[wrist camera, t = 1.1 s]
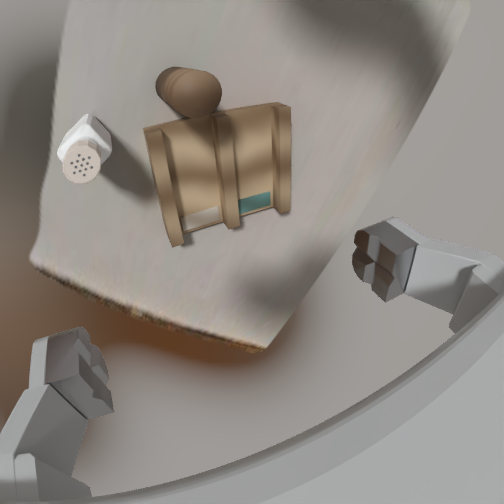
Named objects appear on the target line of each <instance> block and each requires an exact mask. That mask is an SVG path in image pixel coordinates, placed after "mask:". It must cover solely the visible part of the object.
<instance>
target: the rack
mask: <svg viewBox="0 0 504 504" xmlns="http://www.w3.org/2000/svg"><path fill="white" fill-rule="evenodd" d="M143 130H144V135H145V140H146V145H147V150H148V155H149V160H150V164H151V169H152V173H153V178H154V182H155V187H156V191H157V195H158V200H159V204H160V208H161V212H162V216H163V220H164V224H165V228H166V232H167V235H168V238H169V240H170V243H171V245H172V247H176V246H179V245H182V244H184V240H183V236H182V234H185V233H188V232H191V231H194V230H197V229H201V228H204V227H207V226H210V225H213V224H217V223H220V222H224V224H225V225H226V226H227V228H228V229H232V228H235V227H238V226H240V221H239V217H240V216H243V215H246V214H250V213H253V212H257V211H260V210H263V209H267V208H270V207H274V208H275V209H276V210H277V211H278V212H279V213H280V214H281V213H284V212H288V211H290V204H291V107H289V106H286V105H284V104H281V103H278V102H276V103H268V104H261V105H254V106H247V107H241V108H235V109H229V110H223V111H218V112H212V113H210V114H209V115H207V116H205V117H202V118H183V119H179V120H175V121H170V122H166V123H162V124H158V125H154V126H151V127H147V128H143Z"/></svg>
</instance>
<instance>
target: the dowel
mask: <svg viewBox="0 0 504 504" xmlns="http://www.w3.org/2000/svg"><path fill="white" fill-rule="evenodd" d="M156 92H157V94H158V96H159V97H160V98H161V99H162V100H164V101H165V102H166V103H168V104H169V105H170V106H172V107H173V108H174V109H176V110H177V111H178V112H179V113H181V114H182V115H184V116H186V117H188V118H202V117H205V116H207V115H209V114H210V113H212V112H213V111H214V110H215V109H216V108H217V106H218V105H219V103H220V100H221V96H222V89H221V85H220V83H219V81H218V79H217V78H216V77H215V76H214V75H212V74H211V73H208V72H206V71H200V70H194V69H188V68H182V67H171V68H168V69H166V70H164V71H163V72H162V73H161V74H160V75H159V77H158V78H157V81H156Z"/></svg>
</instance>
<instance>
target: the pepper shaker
mask: <svg viewBox="0 0 504 504" xmlns="http://www.w3.org/2000/svg"><path fill="white" fill-rule="evenodd" d="M111 152H112V143H111V136H110V133H109V132H108V131H107V130H106V129H105V128H104V126H103V125H102V124H101V123H100V122H99V121H98V120H97V119H96V118H95V117H94V116H93V115H92V114H90V113H88V114H86V115H84V116H83V117H82V118H81V119H80V120H79V121H78V122H77V123H76V124H75V125H74V126H73V127H72V128H71V129H70V130H69V131H68V132H67V133H66V134H65V136H64V138H63V140H62V142H61V145H60V147H59V149H58V151H57V155H58V158H59V159H60V160H61V161H62V162H63V172H64V173H65V175H66V177H67V178H68V180H70V181H72V182H74V183H76V184H83V183H88V182H90V181H91V180H93V179H95V178H96V176H97V174H98V173H99V171H100V170H101V165H102V164H103V163H104V162H105V160H106V159H107V158H108V157H109V156H110V155H111Z"/></svg>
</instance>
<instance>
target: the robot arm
mask: <svg viewBox="0 0 504 504" xmlns="http://www.w3.org/2000/svg"><path fill="white" fill-rule="evenodd" d="M354 243H355V245H356V246H357V248H356V250H355V251H354V253H353V257H352V265H353V268H354V271H355V273H356V274H357V276H358V277H359V278H360V279H361V280H362V281H363V282H366V283H370V284H371V287H372V291H374V292H375V293H376V294H377V295H378V296H379V297H380V298H381V299H382V300H383V301H384V302H387V301H389V300H391V299H393V298H395V297H397V296H399V295H401V294H403V293H405V294H406V295H408V296H411V297H413V298H415V299H418V300H420V301H423V302H425V303H427V304H430V305H432V306H435V307H437V308H439V309H442V310H444V311H446V312H449V313H451V314H453V317H452V319H451V321H450V323H449V328H450V329H451V330H452V331H453V332H454V333H455V335H453V336H452V337H451V338H450V339H448V340H447V341H446V342H445V343H443V344H442V345H441V346H440V347H439V348H437V349H436V350H435V351H433V352H432V353H431V354H429V355H428V356H427V357H425V358H424V359H423V360H421V361H420V362H419V363H417V364H416V365H414V366H413V367H412V368H410V369H409V370H408V371H406V372H405V373H403V374H402V375H400V376H399V377H398V378H396V379H394V380H393V381H391V382H390V383H388V384H387V385H385V386H384V387H382V388H381V389H379V390H378V391H376V392H374V393H373V394H371V395H369V396H368V397H366V398H365V399H363V400H362V401H360V402H358V403H356V404H355V405H353V406H351V407H350V408H348V409H346V410H344V411H343V412H341V413H339V414H337V415H335V416H333V417H332V418H330V419H328V420H326V421H324V422H322V423H320V424H318V425H316V426H314V427H312V428H310V429H308V430H306V431H304V432H302V433H300V434H298V435H296V436H294V437H292V438H290V439H287V440H285V441H283V442H281V443H279V444H276V445H274V446H272V447H269V448H267V449H265V450H262V451H260V452H258V453H255V454H253V455H250V456H248V457H245V458H242V459H240V460H237V461H234V462H232V463H229V464H226V465H223V466H220V467H217V468H215V469H211V470H208V471H205V472H202V473H199V474H196V475H192V476H189V477H186V478H182V479H179V480H175V481H171V482H167V483H163V484H159V485H155V486H151V487H146V488H143V489H138V490H132V491H127V492H122V493H116V494H111V495H104V496H97V497H92V496H91V491H90V487H89V486H87V485H86V484H85V483H83V482H80V481H78V480H76V479H74V478H72V477H71V476H72V472H73V469H74V465H75V462H76V458H77V455H78V452H79V449H80V445H81V442H82V439H83V436H84V433H85V430H86V427H87V424H88V419H92V418H95V417H99V416H102V415H106V414H109V413H113V412H114V409H113V403H112V396H111V391H110V390H109V389H108V388H107V387H106V383H107V381H108V379H109V375H108V369H107V366H106V363H105V360H104V358H103V356H102V354H101V352H100V351H99V349H98V347H96V346H94V345H92V344H90V336H89V334H88V333H87V331H86V330H85V329H84V328H83V327H77V328H74V329H71V330H67V331H64V332H61V333H57V334H54V335H50V336H48V337H44V338H41V339H38V340H36V341H35V342H34V343H33V348H32V357H31V367H30V379H29V389H27V390H25V391H24V392H23V394H22V396H21V397H20V399H19V401H18V403H17V405H16V406H15V408H14V410H13V411H12V413H11V415H10V417H9V419H8V421H7V422H6V424H5V426H4V428H3V430H2V432H1V434H0V504H504V262H503V261H502V260H500V259H499V258H497V257H496V256H495V255H494V254H492V253H489V252H485V251H481V250H477V249H474V248H470V247H466V246H462V245H458V244H454V243H450V242H446V241H442V240H438V239H434V238H432V239H429V238H427V237H426V236H424V235H423V234H421V233H420V232H418V231H417V230H415V229H414V228H412V227H411V226H409V225H408V224H406V223H405V222H403V221H402V220H400V219H399V218H396V217H391V218H388V219H386V220H383V221H381V222H379V223H376V224H374V225H371V226H368V227H366V228H363V229H360V230H358V231H357V232H356V234H355V239H354Z"/></svg>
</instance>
